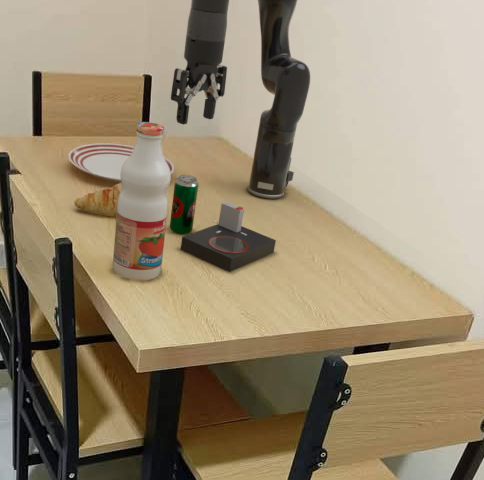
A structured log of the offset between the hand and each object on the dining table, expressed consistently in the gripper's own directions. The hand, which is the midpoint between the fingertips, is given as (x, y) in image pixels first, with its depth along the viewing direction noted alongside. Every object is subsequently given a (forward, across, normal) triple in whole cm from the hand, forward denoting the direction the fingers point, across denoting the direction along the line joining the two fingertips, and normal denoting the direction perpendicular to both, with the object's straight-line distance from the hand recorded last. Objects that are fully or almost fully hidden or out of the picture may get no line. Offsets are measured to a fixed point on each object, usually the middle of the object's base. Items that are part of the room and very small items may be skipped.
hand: (195, 120), depth 151 cm
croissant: (+24, +3, -16) cm, 29 cm away
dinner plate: (+24, -17, -35) cm, 46 cm away
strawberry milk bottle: (+24, +23, +8) cm, 34 cm away
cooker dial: (+21, -4, +9) cm, 24 cm away
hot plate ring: (+21, +3, +15) cm, 26 cm away
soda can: (+24, 0, 0) cm, 24 cm away
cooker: (+24, 0, +13) cm, 27 cm away
